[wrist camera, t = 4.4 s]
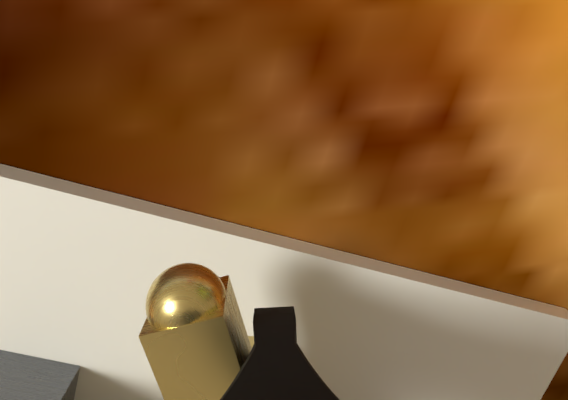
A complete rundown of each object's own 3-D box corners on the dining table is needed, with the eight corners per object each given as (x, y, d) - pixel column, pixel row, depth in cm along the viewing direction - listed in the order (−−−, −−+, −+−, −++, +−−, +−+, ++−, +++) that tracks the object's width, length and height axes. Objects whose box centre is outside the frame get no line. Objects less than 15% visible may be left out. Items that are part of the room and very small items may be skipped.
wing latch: (238, 233, 11) (234, 277, 9) (305, 457, 13) (314, 534, 11) (127, 261, 11) (95, 311, 9) (212, 479, 13) (204, 560, 11)
